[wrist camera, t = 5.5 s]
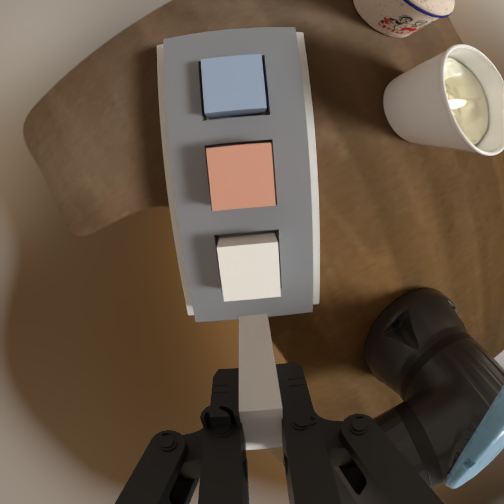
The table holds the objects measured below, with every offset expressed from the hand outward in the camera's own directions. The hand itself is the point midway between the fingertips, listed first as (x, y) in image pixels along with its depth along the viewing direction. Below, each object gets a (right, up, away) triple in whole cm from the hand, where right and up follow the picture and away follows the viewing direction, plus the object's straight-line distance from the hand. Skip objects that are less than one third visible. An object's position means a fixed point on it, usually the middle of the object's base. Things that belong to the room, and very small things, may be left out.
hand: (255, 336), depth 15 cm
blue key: (-2, +19, +8) cm, 21 cm away
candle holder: (+18, +21, +11) cm, 30 cm away
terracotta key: (-1, +11, +9) cm, 15 cm away
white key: (0, +4, +12) cm, 13 cm away
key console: (-1, +12, +13) cm, 18 cm away
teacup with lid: (+17, +34, +6) cm, 39 cm away
